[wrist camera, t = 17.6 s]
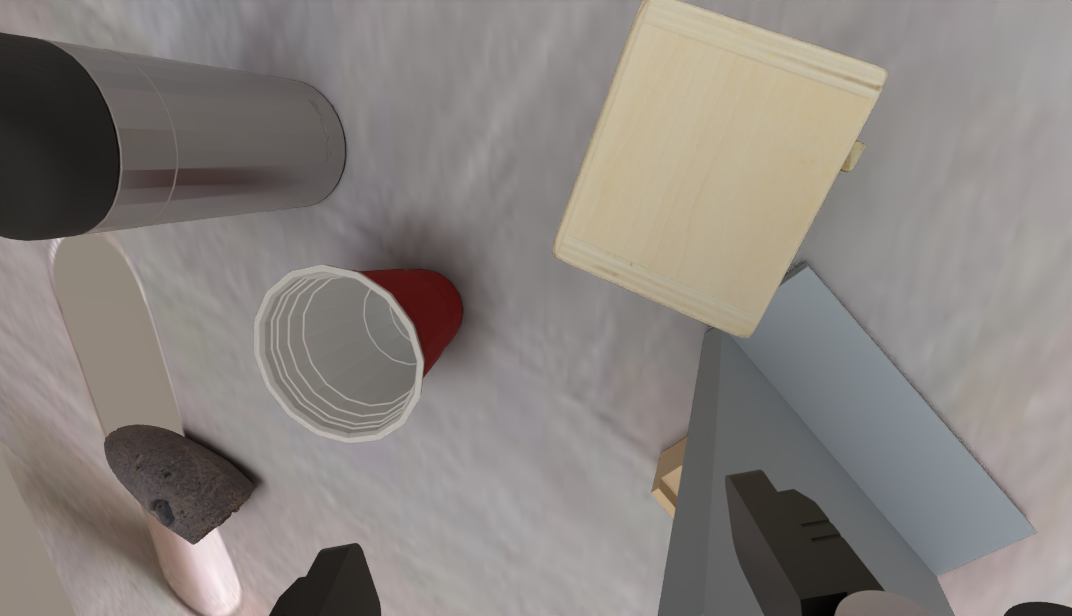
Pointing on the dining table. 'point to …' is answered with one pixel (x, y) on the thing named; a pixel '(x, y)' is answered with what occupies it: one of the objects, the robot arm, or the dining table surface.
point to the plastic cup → (353, 345)
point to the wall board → (822, 458)
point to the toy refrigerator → (713, 161)
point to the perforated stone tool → (176, 479)
